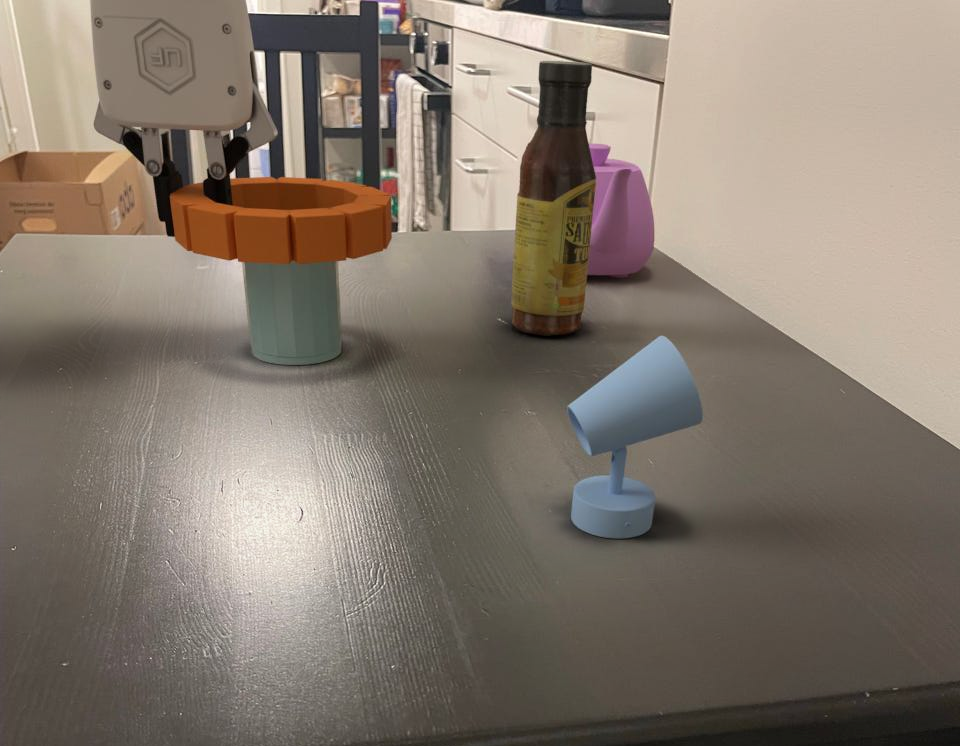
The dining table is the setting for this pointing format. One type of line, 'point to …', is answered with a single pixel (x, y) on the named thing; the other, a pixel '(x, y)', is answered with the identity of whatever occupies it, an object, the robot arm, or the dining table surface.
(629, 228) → the teapot
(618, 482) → the spotlight
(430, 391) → the dining table surface
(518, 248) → the sauce bottle
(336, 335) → the teal cup
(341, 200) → the ring
